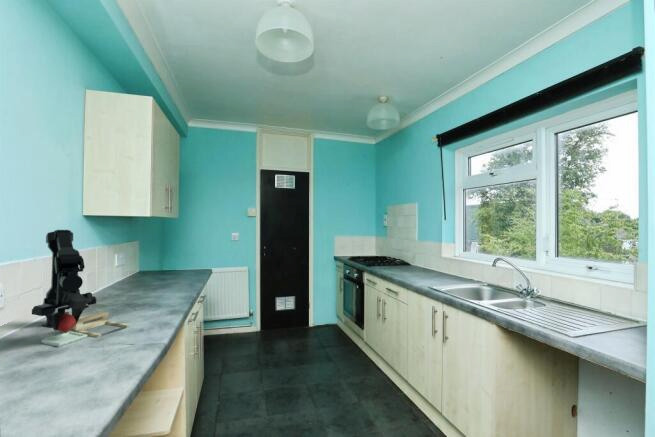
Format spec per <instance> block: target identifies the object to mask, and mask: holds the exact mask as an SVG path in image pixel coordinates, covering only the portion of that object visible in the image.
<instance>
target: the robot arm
mask: <svg viewBox="0 0 655 437" xmlns="http://www.w3.org/2000/svg"><path fill="white" fill-rule="evenodd" d="M45 243H46V244H47V248H48V249H49V250H50V252H51V255H52V256H51V281H50V284H51V285H50V288H49V289H48V291H47V292H46V293H45V297H44V298H43V300H42V302H43V303H42V304H38V305H34V306H33V308H32V309H31V315H34V316H39V317H46V322H45V323H42V324H41V326H43V327H48V328H53V330H54V331H55V332H57V331H58V319H59V318H60V317H61V316H62V315H63V314H64V313H65V312H66V310H70V309H71V315H72V316H73V317H74V318H75V319H76V324H77V322H78V319H79V317H81V315H82V313H83V311H84V310H86V309H88V308H89V307H90V306H91V305H96V304H97V298H96V296H94V295H93V293H92V292H85V293H80V292H81V291H80V288H81V287H82V285H83V279H82V277H81V276H80V275H79V272H81V273H82V272H84V269H85V268H86V267H85V262H84V258H83V256H82V255H80V252H79V250H78V249H75V248H74V246H73V243H74V232H72V231H71V230H70V229H55V230H54V231H51V232H50V231H49V232H47V234H46V235H45ZM76 324H75V325H76Z"/></svg>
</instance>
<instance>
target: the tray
mask: <svg viewBox="0 0 655 437" xmlns="http://www.w3.org/2000/svg"><path fill="white" fill-rule="evenodd" d="M87 338H88V335H87V334H82V333H77V332H72V331H71V330H70V331H68V332H67V333H62V332H61V333H59V334H56V335H53V336H49V337H46V338H44V339H43V338H42V339H41V344H45V345H48V346H53V347H58V348H60V347H63V346H66V345H70V344H72V343H73V344H74V343H76V342H78V341H82V340H85V339H87Z"/></svg>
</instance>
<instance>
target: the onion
mask: <svg viewBox="0 0 655 437" xmlns="http://www.w3.org/2000/svg"><path fill="white" fill-rule="evenodd" d="M75 324H76V319H75V318H74V317H73V316H72V314H70V312H69V311H65V313H64V314H63V315H62V316H61V317H60V318H59V319H58V330H57V331H58V332H61V334H62V333H67V332H69V331H71V329H72V328H73V327H74V326H75Z"/></svg>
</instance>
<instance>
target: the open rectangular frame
mask: <svg viewBox="0 0 655 437" xmlns="http://www.w3.org/2000/svg"><path fill="white" fill-rule="evenodd" d="M109 312H110V311H106V310H103V311H99V312H94V313H92V314H88V315H83V316H80V317H79V319H78V322H77V324H76V325H75V326H74V327H73V328H72V329H71V330H70V331H72V332H77V333H82V334H87V337H93V338H100V337H103V336H107V335H110V334H113V333H115V332H118V331H121V330H124V329H126V328H129V327H130V324H129V323H122V322H117V321H111V320H109V314H110V313H109ZM104 325H109V326H116V327H119V328H116V329H113V330H109V331H106V332H104V333H98V332H93V331H88V330H90V329H93V328H97V327H100V326H104ZM87 329H88V330H87Z"/></svg>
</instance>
